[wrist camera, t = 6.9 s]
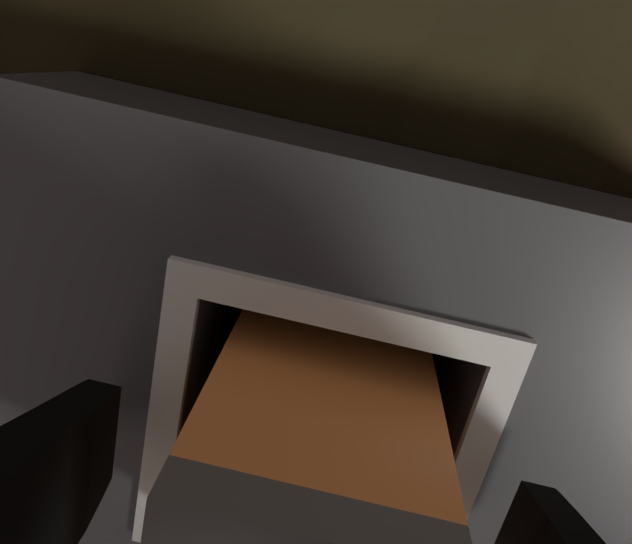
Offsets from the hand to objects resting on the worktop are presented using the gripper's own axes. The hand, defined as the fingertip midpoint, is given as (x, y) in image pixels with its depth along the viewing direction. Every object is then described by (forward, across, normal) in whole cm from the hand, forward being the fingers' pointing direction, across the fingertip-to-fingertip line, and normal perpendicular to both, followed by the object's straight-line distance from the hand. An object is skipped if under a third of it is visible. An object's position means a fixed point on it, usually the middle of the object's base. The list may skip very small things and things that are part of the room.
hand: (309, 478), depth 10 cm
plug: (+4, 0, 0) cm, 4 cm away
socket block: (+4, 0, 0) cm, 4 cm away
